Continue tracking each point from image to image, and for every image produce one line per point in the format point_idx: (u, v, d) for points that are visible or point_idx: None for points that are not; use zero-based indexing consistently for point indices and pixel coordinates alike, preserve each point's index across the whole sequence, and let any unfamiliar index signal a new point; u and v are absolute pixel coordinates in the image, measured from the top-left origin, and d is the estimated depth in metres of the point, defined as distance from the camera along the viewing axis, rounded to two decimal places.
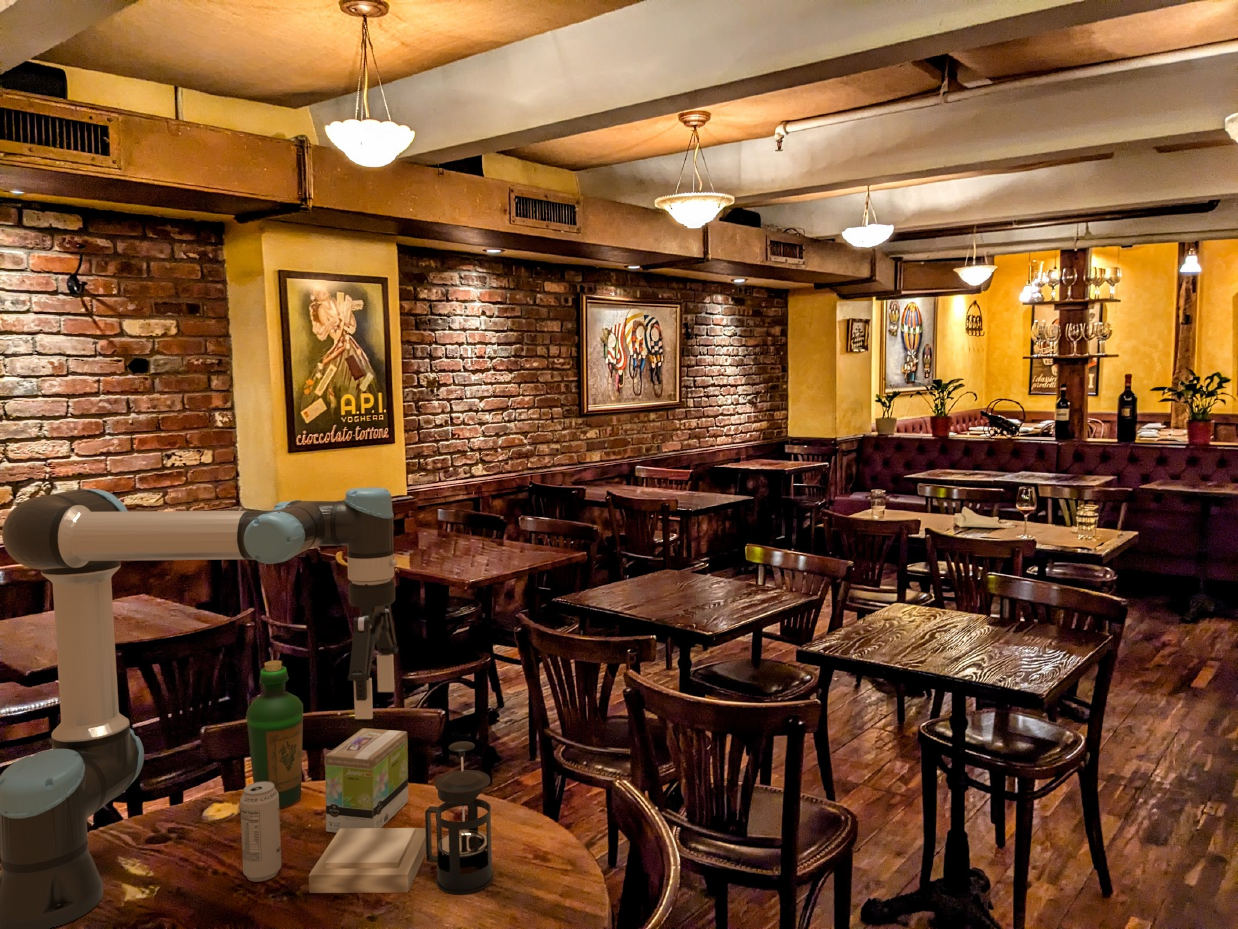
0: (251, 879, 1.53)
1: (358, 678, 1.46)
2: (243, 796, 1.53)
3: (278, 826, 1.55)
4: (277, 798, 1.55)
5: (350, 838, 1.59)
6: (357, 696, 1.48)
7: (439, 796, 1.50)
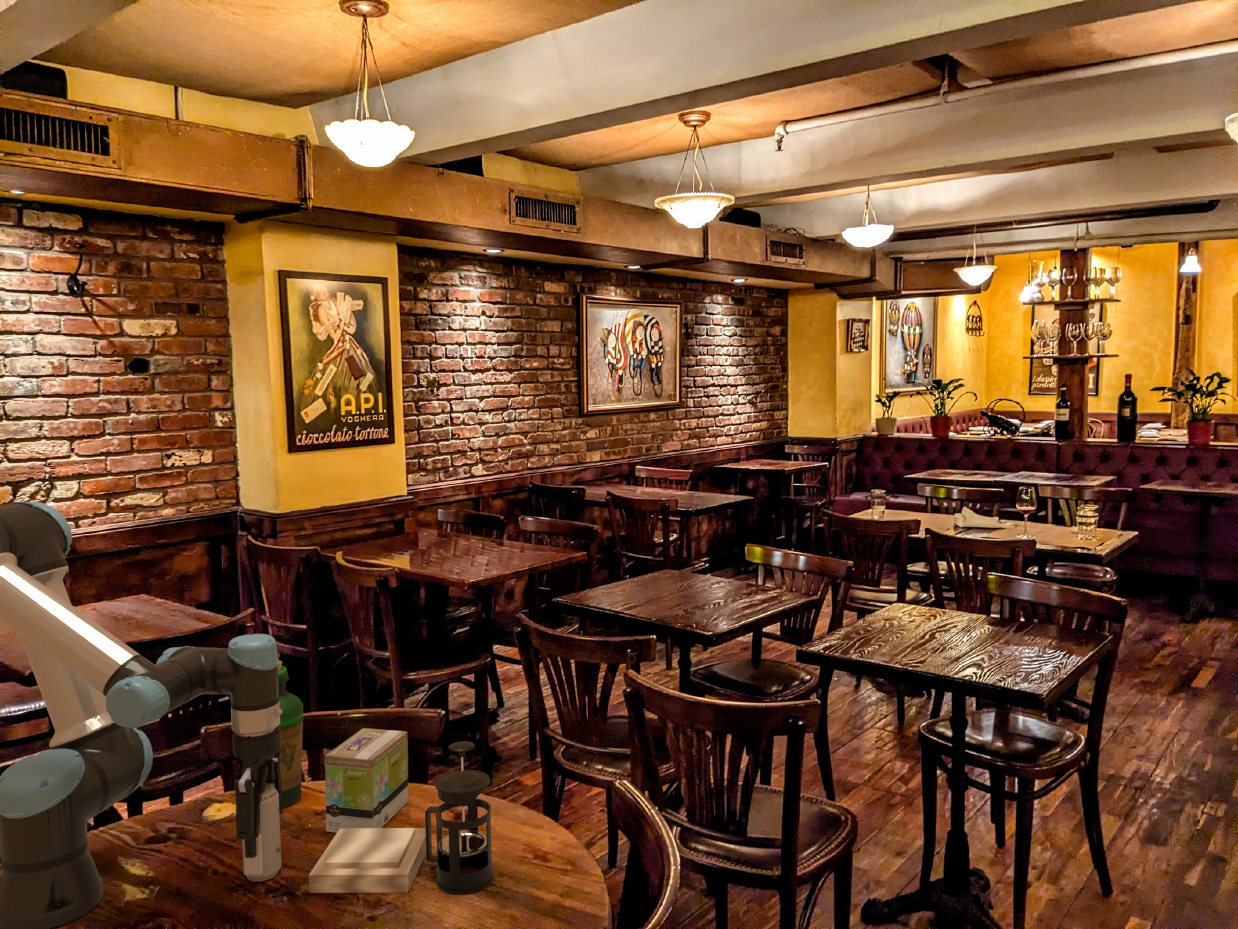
0: (251, 879, 1.53)
1: (246, 839, 1.48)
2: None
3: (278, 826, 1.55)
4: (277, 798, 1.55)
5: (350, 838, 1.59)
6: (246, 854, 1.50)
7: (439, 796, 1.50)
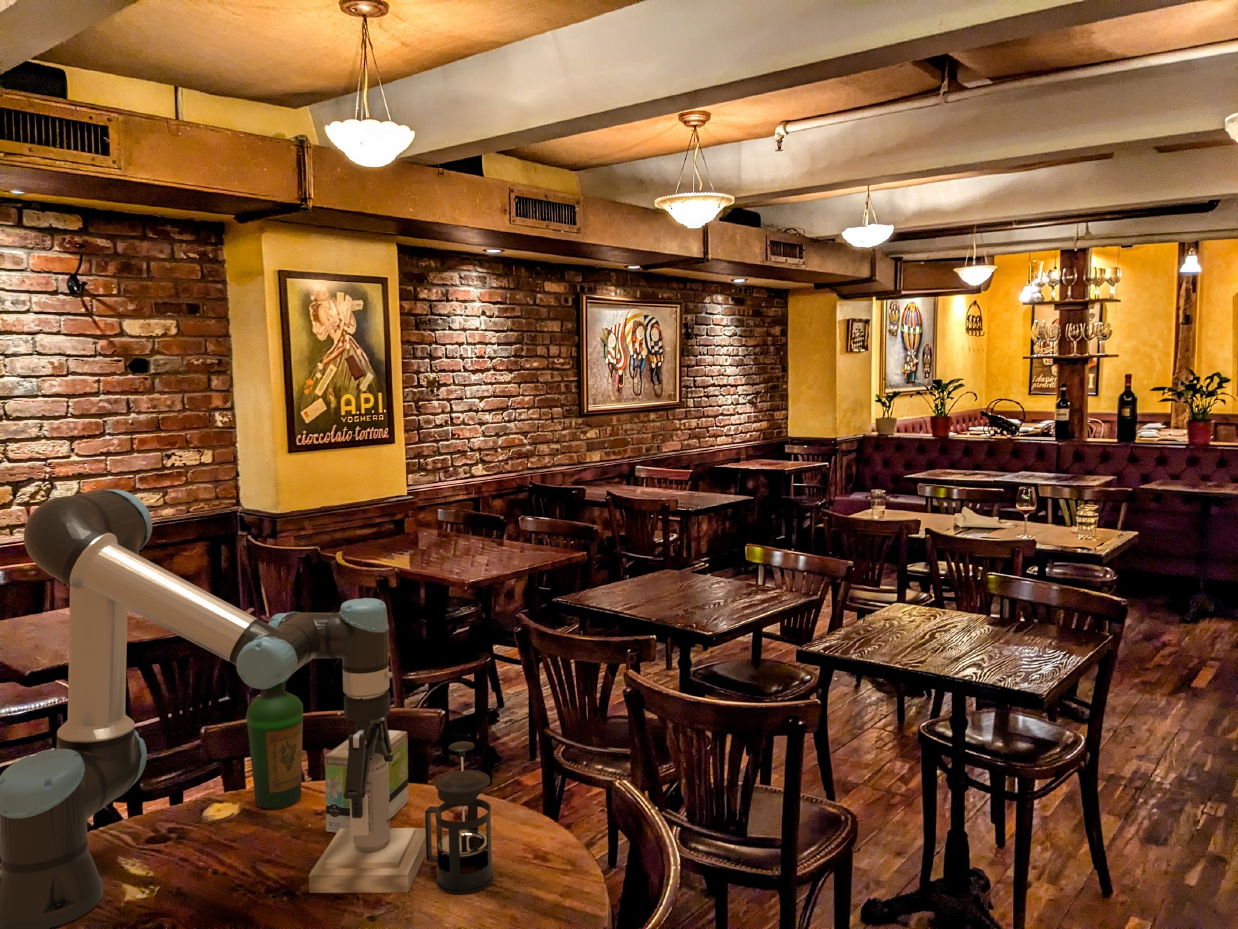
0: (362, 849, 1.55)
1: (354, 798, 1.46)
2: None
3: (388, 797, 1.56)
4: (387, 769, 1.56)
5: (350, 838, 1.59)
6: (353, 814, 1.48)
7: (439, 796, 1.50)
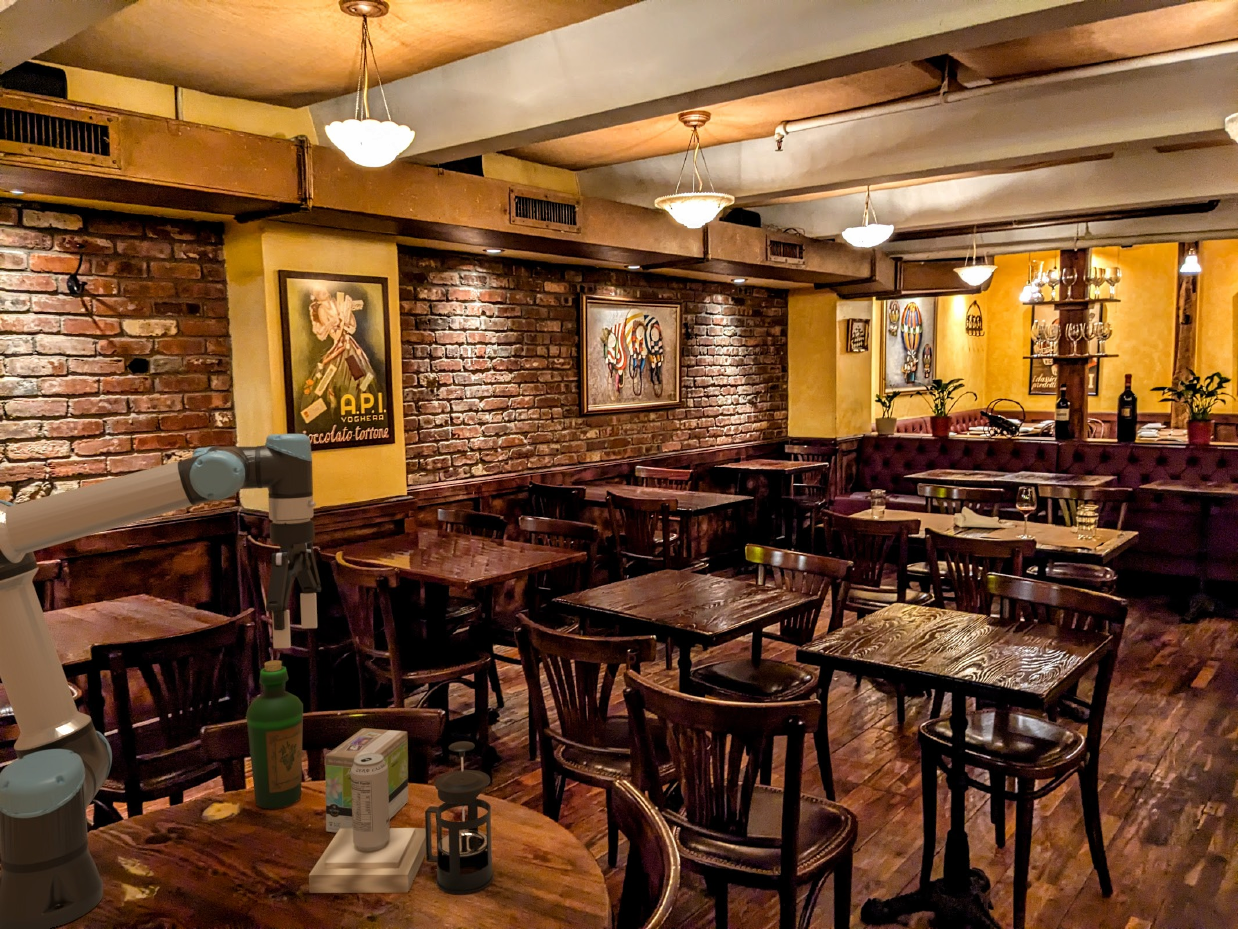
0: (362, 849, 1.55)
1: (274, 608, 1.56)
2: (354, 767, 1.54)
3: (387, 797, 1.56)
4: (387, 769, 1.56)
5: (350, 838, 1.59)
6: (275, 626, 1.58)
7: (439, 796, 1.50)
